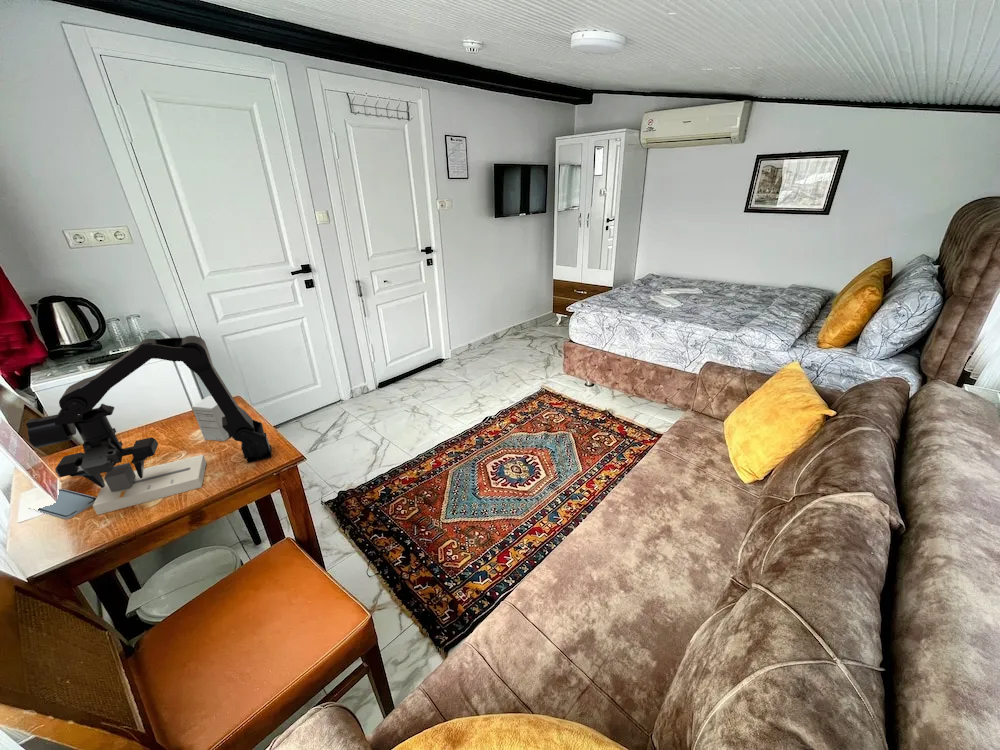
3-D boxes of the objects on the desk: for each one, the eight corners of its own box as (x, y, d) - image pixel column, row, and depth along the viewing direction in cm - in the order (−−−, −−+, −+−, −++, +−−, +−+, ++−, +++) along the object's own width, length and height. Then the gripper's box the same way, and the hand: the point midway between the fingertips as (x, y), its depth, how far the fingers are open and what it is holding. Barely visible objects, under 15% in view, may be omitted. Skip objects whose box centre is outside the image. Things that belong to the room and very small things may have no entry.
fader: (135, 475, 111) (129, 462, 109) (131, 487, 107) (124, 473, 105) (117, 480, 109) (110, 467, 107) (111, 492, 105) (104, 478, 103)
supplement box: (220, 427, 138) (208, 394, 132) (240, 429, 137) (229, 396, 132) (203, 439, 132) (190, 406, 126) (224, 441, 131) (212, 408, 125)
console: (206, 462, 121) (203, 454, 120) (201, 487, 112) (197, 478, 110) (111, 485, 112) (107, 477, 111) (97, 514, 102) (92, 505, 101)
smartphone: (60, 488, 111) (99, 497, 107) (62, 490, 111) (101, 500, 107) (25, 507, 104) (66, 518, 101) (27, 510, 105) (68, 521, 101)
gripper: (30, 462, 90) (64, 514, 97) (136, 439, 98) (160, 489, 105) (51, 436, 99) (80, 486, 106) (147, 417, 107) (168, 464, 114)
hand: (123, 481), depth 108 cm, fingers open, 8 cm apart
